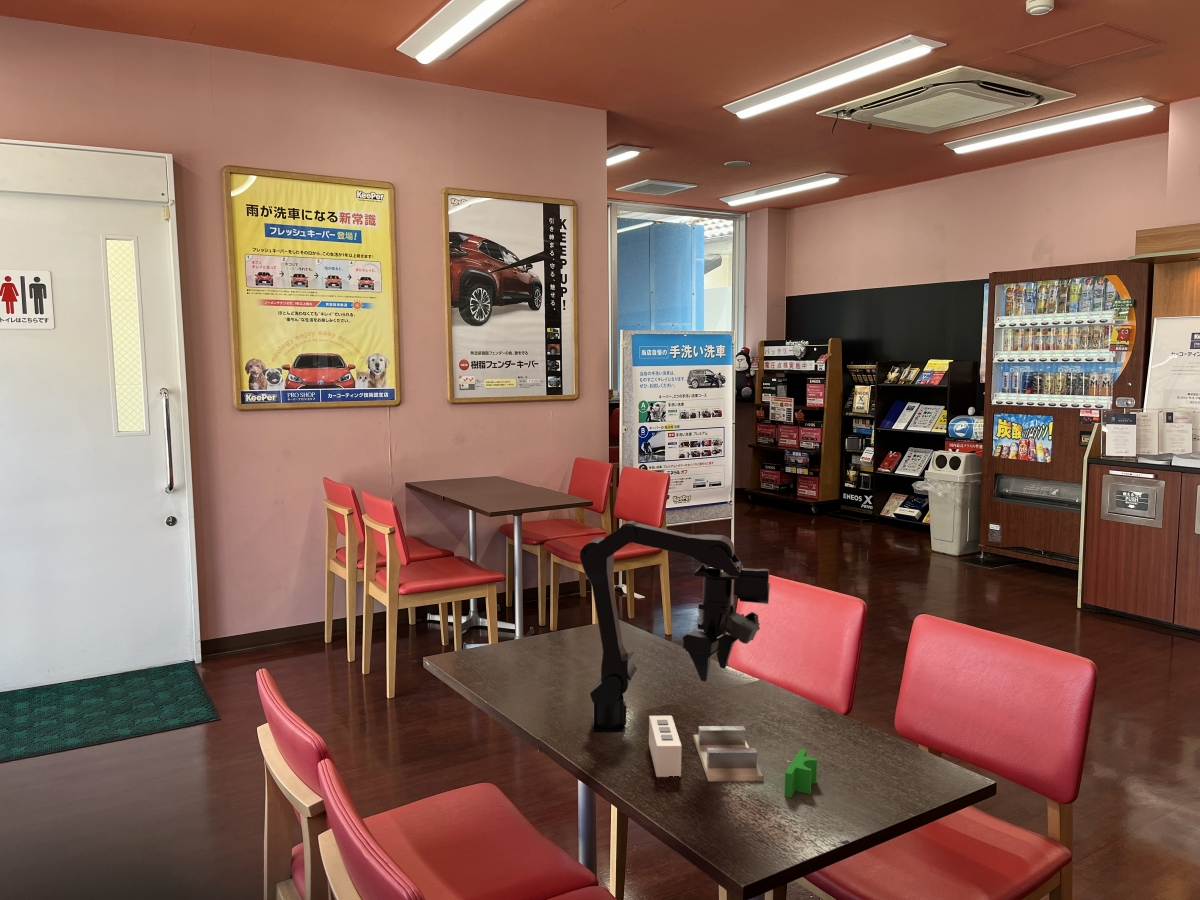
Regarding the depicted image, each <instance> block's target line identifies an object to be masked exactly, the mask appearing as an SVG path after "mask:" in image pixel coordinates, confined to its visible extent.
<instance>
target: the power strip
mask: <svg viewBox="0 0 1200 900" xmlns="http://www.w3.org/2000/svg"><path fill="white" fill-rule="evenodd" d="M648 716H649V717H648V719H649V720H648V747H649V750H650V755H651V759H652V760H651V761H652V763H653V767H654V772H655V776H656V778H661V777H662V778H668V777H669V776H673V777H674V776H679V777H682V751H683V750H682V743H681V740H680V737H679V734H678V730H677V728H676V725H675V721H674V718H673V716H672V715H648ZM673 777H672V778H673ZM679 777H678V778H679ZM669 778H670V777H669ZM674 778H675V777H674Z"/></svg>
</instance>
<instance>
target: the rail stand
mask: <svg viewBox="0 0 1200 900" xmlns="http://www.w3.org/2000/svg"><path fill="white" fill-rule="evenodd" d="M746 733H747V730H746V728H745V726H744V725H712V726H711V725H707V726H706V725H705V726H704V725H702V726H701V725H699V726H698V734H693V743H694V744H695V745H694V746H695V747H696V750H697V753H698V756H699V759H700V761H701V762H700V763H701V764H702V768H703V770H704V773H705V775H706V778H707V779H706V780H707V781H708V782H764V775H763V773H762V771H761V769H760V766H759V764H758V751H757V749H756V747H749V744H748V743H747V741H746V737H747V735H746ZM747 780H748V781H747ZM755 780H756V781H755Z"/></svg>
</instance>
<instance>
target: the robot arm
mask: <svg viewBox="0 0 1200 900" xmlns="http://www.w3.org/2000/svg"><path fill="white" fill-rule="evenodd" d="M631 543H634V544H637V545H639V546H640V545H641V546H646V547H650V548H655V549H659V550H664V551H668V552H672V553H677V554H682V555H685V556H688V557H689V558H692V559H693V560H695V561H697V562H699V563H700V564H701V565H700V566H699V567H698V568H696V570H695V571H694V572H693V576H694V577H700V578H702V577H703V583H702V590H703V591H702V602H700V603H698V610H701V622H698V623H697V629H698V630H691V631H690V632H689V633H687V634H686V635H684V636H683V637H682V641H681V648H682V649H684V651H686V652H687V653H688V654H689V656H690V658H691V661H692V663H693V664H694V667H695V669H696V672H697V674H698V677H699V679H700V681H701V682H704V683H705V682H707V681H708V678H709V677H708V676H709V671H710V666H711V661H712V657H713V656H714V655H716V656H717V661H718V666H719V668H720V669H723V670H725V669H727V665H728V661H729V658H730V655H731V654H732V651H733V647H734V644H735V643H736V642H737V641H739V642H740V643H742V644H746V645H747V644H749V642H751V641H754V640H755V639H754V638H755V636H756V634H757V632H758V631H759V630H760V629H761V628H760V623H759V615H758V614H757V613H755V611H754V612H753V611H751V612H749V613H748V614H746V615H745V614H744V613H741V614H740V613H738V612H737V611H736V610H737V608H736V607H737V605H735V603H732V592H733V590H732V589H733V581H734V596H735V597H736V598H737V599H739V602H742V603H753V604H765V605H769V602H770V589H771V583H770V569H769V568H749V567H748V568H747V567H744V565H743V563H742V562H741V560H740V558H739V557H738V556H737V554H736V553H735V545H734V542H733V541H732V540H731V538H729V537H728V536H726V535H722V534H709V533H706V534H689V533H685V532H684V533H683V532H679V531H675V530H671V529H666V528H661V527H658V526H653V525H648V524H644V523H641V522H640V523H639V522H637V521H635V520H629V521H626V522H625V523H623V524H622V525H621V526H620V527H618V529H616V530H614V531H613V532H611V533H609V534H608V535H607V536H605V537H600V536H599V537H595V538H593V539H592V540H590V541H589V542H588V543H586V544H585V545H583V546H582V548H581V550H580V553H579V559H580V562H581V566H582V568H583V571H584V573H585V576H586V577H587V579H588V581H589V583H590V585H591V588H592V595H593V600H594V607H595V611H596V617H597V623H598V629H599V634H600V642H601V648H602V659H601V666H600V667H601V668H600V679H599V680H598V681H597V683H596V685H595V686H594V687H593V689H592V690H591V692H590V694H589V695H590V698H591V701H592V704H593V706H592V717H591V721H592V731H593V732H624V731H625V725H627V702H626V701H625V700H624V699H625V698H624V694H625V693H626V691H627V690H628V689H629V687H630V685H631V683H633V681H634V679H635V674H636V673H637V671H638V668H637V666H636V664H635V652H634V651H630V652H627V650H626V648H625V646H624V644H623V643H624V642H623V637H622V631H621V626H620V625H621V624H620V619H619V613H618V607H617V601H616V594H615V588H614V583H613V582H614V581H613V576H614V568H615V553H617V552H618V551H619V550H621V549H623V548H624V547H625V546H627V545H628V544H631ZM700 630H702V631H700Z"/></svg>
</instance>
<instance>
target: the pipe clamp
mask: <svg viewBox="0 0 1200 900" xmlns="http://www.w3.org/2000/svg"><path fill="white" fill-rule="evenodd" d="M817 777H818V759H817V758H814V757H809V756H808V749H804V748H800V750H799V751H798V753H797V754H796V756H795V757H794V758H793V760H792V761H791V763H790V765H789V766H788V768H787V769H786V771H785V773H784V797H785V796H786V797H785V798H788V797H790V798H789V799H791V798H793V795H794V794H795V792H798V791H799V792H798V793H802V792H803V794H806V793H807V795H811V793H812V784H814V783H815V785H816V784H817V779H818V778H817ZM793 793H794V794H793Z"/></svg>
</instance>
